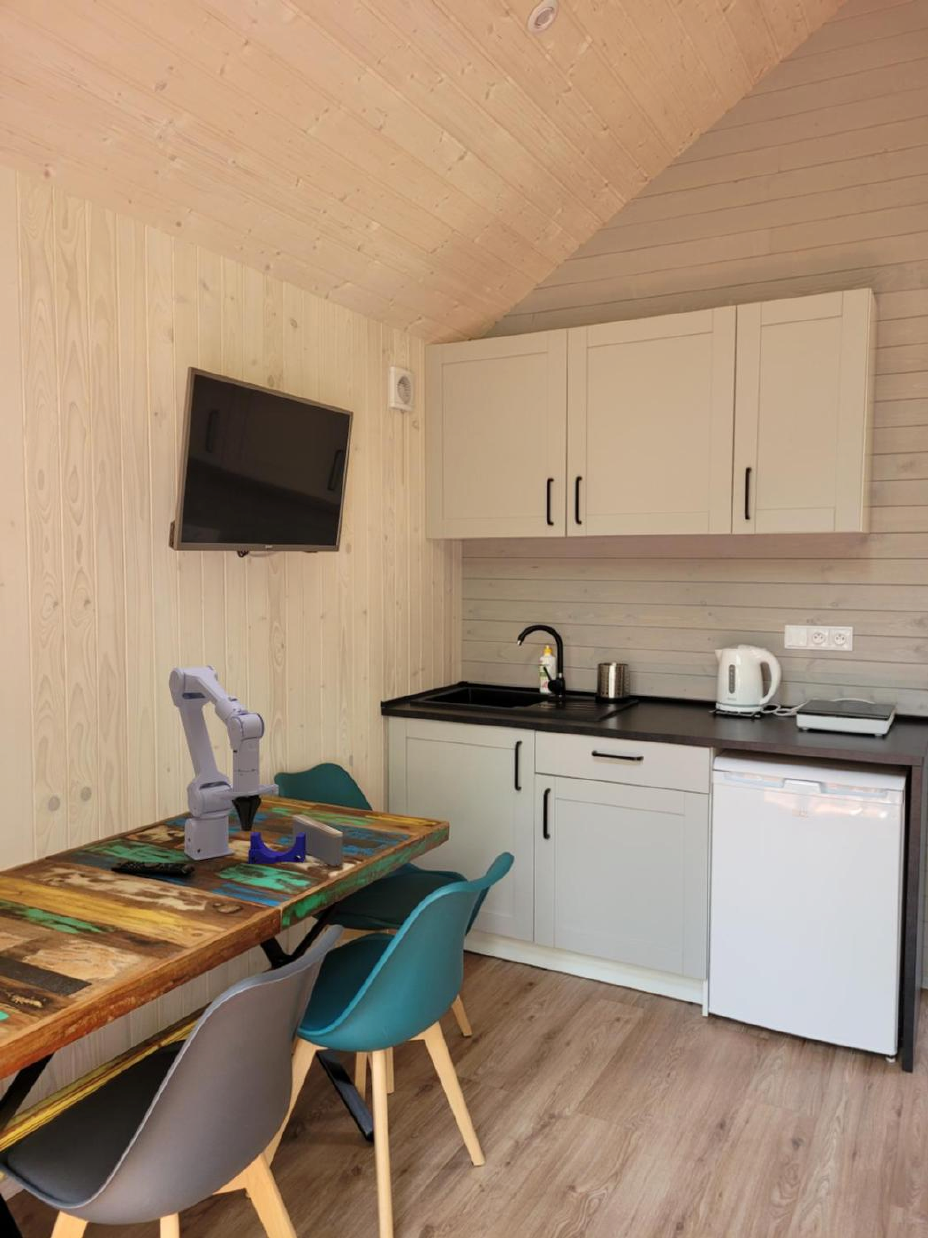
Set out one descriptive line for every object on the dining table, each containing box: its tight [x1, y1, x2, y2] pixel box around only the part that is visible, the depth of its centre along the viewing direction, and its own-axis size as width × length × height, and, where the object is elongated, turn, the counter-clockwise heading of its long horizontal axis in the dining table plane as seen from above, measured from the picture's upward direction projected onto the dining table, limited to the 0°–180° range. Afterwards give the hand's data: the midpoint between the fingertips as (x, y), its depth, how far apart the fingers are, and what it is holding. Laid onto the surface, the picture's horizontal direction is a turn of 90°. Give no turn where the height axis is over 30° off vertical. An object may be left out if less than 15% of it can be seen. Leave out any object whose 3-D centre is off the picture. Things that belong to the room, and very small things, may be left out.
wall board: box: [292, 813, 344, 867], centre depth 217 cm, size 2×20×7 cm, turn 36°
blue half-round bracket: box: [247, 831, 307, 865], centre depth 212 cm, size 12×4×6 cm, turn 86°
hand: (246, 830), depth 206 cm, fingers closed
